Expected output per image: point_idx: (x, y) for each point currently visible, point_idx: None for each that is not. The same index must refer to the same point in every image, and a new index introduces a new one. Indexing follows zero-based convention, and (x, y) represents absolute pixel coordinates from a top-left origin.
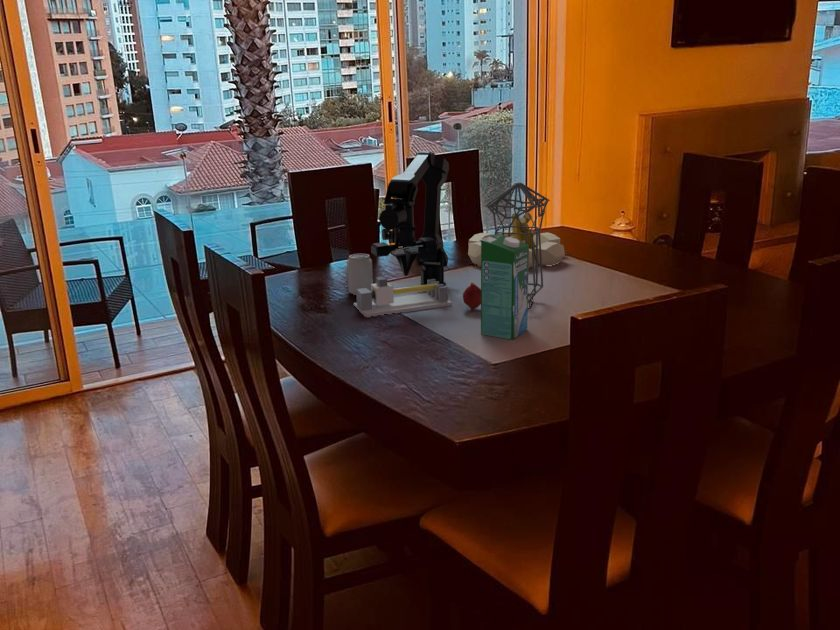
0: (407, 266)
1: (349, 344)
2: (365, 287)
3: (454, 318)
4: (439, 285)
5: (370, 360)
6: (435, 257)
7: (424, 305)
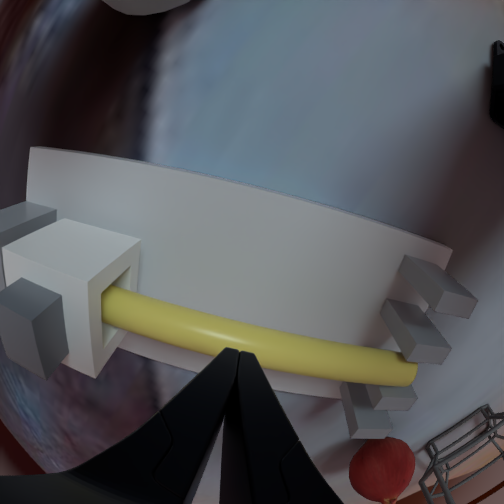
0: (223, 468)
1: (13, 396)
2: (132, 2)
3: None
4: (388, 409)
5: (44, 447)
6: None
7: None
